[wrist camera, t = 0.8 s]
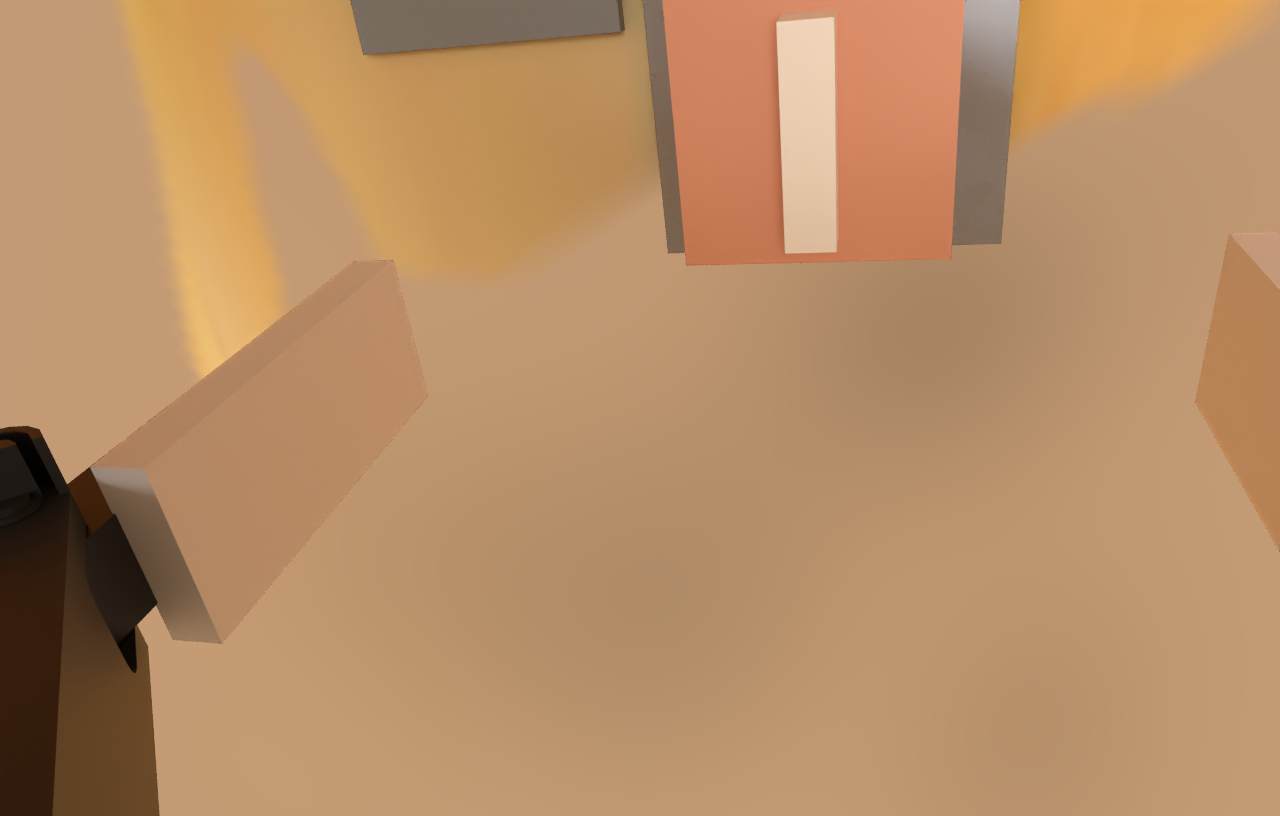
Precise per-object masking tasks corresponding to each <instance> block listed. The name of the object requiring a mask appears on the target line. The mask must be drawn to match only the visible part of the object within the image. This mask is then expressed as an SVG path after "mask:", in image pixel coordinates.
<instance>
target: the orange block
mask: <svg viewBox="0 0 1280 816" xmlns="http://www.w3.org/2000/svg"><path fill="white" fill-rule="evenodd" d="M662 2H663V13H664V24H665V35H666V46H667V57H668V68H669V79H670V90H671V101H672V112H673V123H674V134H675V145H676V156H677V167H678V178H679V189H680V200H681V211H682V222H683V233H684V244H685V255H686V265H720V264H721V265H722V264H723V265H725V264H763V263H803V262H842V261H880V260H917V259H918V260H920V259H951V252H952V233H953V214H954V194H955V175H956V156H957V137H958V118H959V99H960V80H961V61H962V42H963V22H964V3H965V0H662Z"/></svg>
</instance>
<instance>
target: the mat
mask: <svg viewBox="0 0 1280 816" xmlns="http://www.w3.org/2000/svg"><path fill="white" fill-rule="evenodd" d="M350 1H351V5H352V9H353V13H354V18H355V22H356V26H357V30H358V34H359V39H360V43H361V47H362V51H363V55H369V54H380V53H391V52H403V51H414V50H425V49H436V48H448V47H459V46H470V45H481V44H493V43H504V42H515V41H526V40H537V39H549V38H560V37H571V36H582V35H594V34H605V33H616V32H622V31H623V30H625V29H624V19H623V10H622V1H621V0H350Z"/></svg>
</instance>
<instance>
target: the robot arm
mask: <svg viewBox="0 0 1280 816" xmlns="http://www.w3.org/2000/svg"><path fill="white" fill-rule="evenodd" d="M427 397H428V394H427V390H426V386H425V382H424V379H423V375H422V371H421V367H420V363H419V359H418V355H417V351H416V347H415V344H414V340H413V336H412V332H411V328H410V324H409V320H408V316H407V313H406V309H405V306H404V301H403V297H402V293H401V289H400V285H399V282H398V278H397V274H396V270H395V266H394V262H393V260H380V261H354V262H353V263H351V264H350V265H349V266H348V267H346V268H345V269H344V270H342V271H341V272H340V273H339V274H337V275H336V276H335V277H333V278H332V279H331V280H330V281H328V282H327V283H326V284H324V285H323V286H322V287H321V288H319V289H318V290H317V291H315V292H314V293H313V294H312V295H310V296H309V297H308V298H307V299H305V300H304V301H303V302H301V303H300V304H299V305H297V306H296V307H295V308H294V309H292V310H291V311H290V312H288V313H287V314H286V315H285V316H283V317H282V318H281V319H279V320H278V321H277V322H276V323H274V324H273V325H272V326H270V327H269V328H268V329H267V330H265V331H264V332H263V333H261V334H260V335H259V336H258V337H256V338H255V339H254V340H252V341H251V342H250V343H249V344H247V345H246V346H245V347H243V348H242V349H241V350H240V351H238V352H237V353H236V354H234V355H233V356H232V357H231V358H229V359H228V360H227V361H225V362H224V363H223V364H222V365H220V366H219V367H218V368H216V369H215V370H214V371H213V372H211V373H210V374H209V375H207V376H206V377H205V378H204V379H202V380H201V381H200V382H198V383H197V384H196V385H195V386H193V387H192V388H191V389H190V390H188V391H187V392H186V393H185V394H183V395H182V396H181V397H179V398H178V399H177V400H175V401H174V402H173V403H172V404H170V405H169V406H167V407H166V408H165V409H164V410H162V411H161V412H160V413H158V414H157V415H156V416H154V417H153V418H152V419H151V420H149V421H148V422H147V423H146V424H145V425H143V426H142V427H140V428H139V429H138V430H137V431H135V432H134V433H133V434H131V435H130V436H129V437H128V438H127V439H126V440H124V441H123V442H121V443H120V444H119V445H117V446H116V447H115V448H113V449H112V450H111V451H110V452H108V453H107V454H106V455H105V456H103V457H102V458H101V459H99V460H98V461H97V462H96V463H94V464H93V465H92V466H90V467H89V468H88V469H86V470H85V471H84V472H83V473H81V474H80V475H79V476H77V477H76V478H75V479H74V480H72V481H71V482H70V483H69V484H66V482H65V480H64V478H63V476H62V474H61V472H60V470H59V468H58V466H57V464H56V462H55V460H54V458H53V456H52V454H51V452H50V450H49V448H48V446H47V444H46V442H45V440H44V438H43V436H42V434H41V432H40V430H39V429H37V428H33V427H29V426H18V427H7V428H3V429H0V816H159V802H158V788H157V773H156V758H155V744H154V729H153V714H152V699H151V685H150V671H149V655H148V646H147V644H146V642H145V640H144V638H143V636H142V634H141V632H140V630H139V628H138V626H137V624H138V623H139V622H140V621H141V620H142V619H143V618H144V617H145V616H146V615H147V614H148V613H149V612H150V611H151V610H152V608H154V607H155V606H157V608H158V610H159V612H160V614H161V616H162V618H163V620H164V622H165V624H166V626H167V629H168V631H169V633H170V634H171V637H172V639H173V640H183V641H195V642H207V643H219V644H222V643H223V642H224V641H225V640H226V638H227V637H228V636H229V635H230V634H231V632H232V631H233V630H234V629H235V628H236V626H237V625H238V624H239V623H240V621H242V619H243V618H244V617H245V616H246V614H247V613H248V612H249V611H250V610H251V609H252V607H253V606H254V605H255V604H256V603H257V601H258V600H259V599H260V598H261V597H262V595H263V594H264V593H265V592H266V591H267V589H268V588H269V587H270V586H271V585H272V583H273V582H274V581H275V580H276V579H277V577H278V576H279V575H280V574H281V573H282V571H283V570H284V569H285V568H286V566H287V565H288V564H289V563H290V562H291V560H292V559H293V558H294V557H295V556H296V554H297V553H298V552H299V551H300V550H301V548H302V547H303V546H304V545H305V544H306V542H307V541H308V540H309V539H310V538H311V536H312V535H313V534H314V533H315V532H316V530H317V529H318V528H319V527H320V526H321V524H322V523H323V522H324V521H325V520H326V518H327V517H328V516H329V515H330V513H331V512H332V511H333V510H334V509H335V508H336V506H337V505H338V504H339V503H340V502H341V500H342V499H343V498H344V497H345V496H346V494H347V493H348V492H349V491H350V490H351V488H352V487H353V486H354V485H355V484H356V482H357V481H358V480H359V479H360V478H361V476H362V475H363V474H364V473H365V472H366V470H367V469H368V468H369V467H370V466H371V464H372V463H373V462H374V461H375V460H376V458H377V457H378V456H379V455H380V454H381V452H382V451H383V450H384V449H385V447H386V446H387V445H388V444H389V443H390V442H391V440H392V439H393V437H395V435H396V434H397V433H398V432H399V431H400V429H401V428H402V427H403V426H404V425H405V423H406V422H407V421H408V420H409V419H410V417H411V416H412V415H413V414H414V413H415V411H416V410H417V409H418V408H419V407H420V405H421V404H422V403H423V402H424V401H425V399H426V398H427ZM1195 403H1196V405H1197V406H1198V408H1199V410H1200V412H1201V414H1202V415H1203V417H1204V419H1205V420H1206V422H1207V424H1208V426H1209V427H1210V429H1211V431H1212V433H1213V435H1214V437H1215V438H1216V440H1217V442H1218V444H1219V445H1220V447H1221V449H1222V451H1223V452H1224V454H1225V456H1226V458H1227V459H1228V461H1229V463H1230V465H1231V467H1232V468H1233V470H1234V472H1235V473H1236V475H1237V477H1238V478H1239V481H1240V482H1241V484H1242V486H1243V488H1244V490H1245V491H1246V493H1247V495H1248V497H1249V499H1250V500H1251V502H1252V504H1253V505H1254V507H1255V509H1256V511H1257V513H1258V514H1259V516H1260V518H1261V520H1262V522H1263V523H1264V525H1265V527H1266V529H1267V530H1268V532H1269V534H1270V536H1271V537H1272V539H1273V541H1274V543H1275V545H1276V546H1277V548H1278V550H1279V552H1280V232H1256V233H1229V235H1228V240H1227V245H1226V250H1225V256H1224V260H1223V266H1222V270H1221V275H1220V280H1219V285H1218V290H1217V295H1216V300H1215V305H1214V310H1213V315H1212V320H1211V325H1210V330H1209V335H1208V340H1207V345H1206V350H1205V355H1204V360H1203V365H1202V370H1201V375H1200V380H1199V385H1198V390H1197V395H1196V400H1195Z"/></svg>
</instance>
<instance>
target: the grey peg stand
mask: <svg viewBox="0 0 1280 816" xmlns="http://www.w3.org/2000/svg"><path fill="white" fill-rule="evenodd" d="M643 6H644V16H645V26H646V36H647V46H648V56H649V66H650V76H651V86H652V96H653V106H654V116H655V126H656V136H657V146H658V156H659V167H660V177H661V187H662V197H663V207H664V216H665V227H666V236H667V246H668V253H685V244H684V233H683V222H682V211H681V200H680V189H679V178H678V167H677V156H676V145H675V134H674V123H673V112H672V101H671V90H670V79H669V68H668V57H667V46H666V35H665V24H664V13H663V2H662V0H643ZM1019 8H1020V0H965V3H964V22H963V42H962V61H961V80H960V99H959V118H958V137H957V156H956V175H955V194H954V214H953V233H952V245H971V244H1001V237H1002V223H1003V211H1004V199H1005V186H1006V173H1007V161H1008V148H1009V135H1010V122H1011V110H1012V97H1013V84H1014V71H1015V59H1016V46H1017V33H1018V20H1019Z"/></svg>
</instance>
